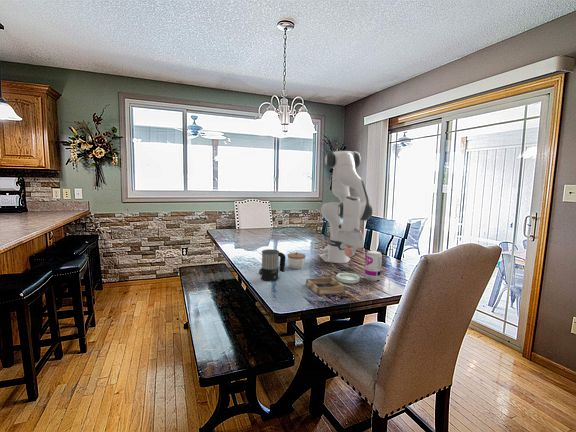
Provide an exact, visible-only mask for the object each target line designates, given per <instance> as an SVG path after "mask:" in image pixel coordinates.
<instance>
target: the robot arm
mask: <svg viewBox="0 0 576 432" xmlns="http://www.w3.org/2000/svg"><path fill="white" fill-rule="evenodd" d="M361 160H362V158H361V154H360V153H359V152H358V151H355V150H354V151H350V150H338V151H328V152H327V153H326V155H325V156H324V163H325V166H326V168H328V169H333V170H332V174H331V175H332V176H331V177H332V178H331V192H332V194H333V195H334V196H335V197H336V198H338V200H339V201H338V202H337V201H336V202H335V201H330V202H325V203H323V204H322V206H321V209H320V213H321V215H322V216H321V217H323V218H325V220H326V222H327V223H328V225H329V228H330V229H329V230H330V234H329V235H330V237H329V239H328V244H327V245H326V246H325V247H323V249H322V254H319V257H320V258H321V260H323V261H324V262H326V263H328V262H329V263H333V264H334V263H335V264H346V263H349V261H351V257H348V256H346V255H345V249H346V248H348V246H351V248H352V251H351V255H353V256H354V255H356V251H357V249H363V248H364V245H365V244H364V233H363V232H362V230H361V229H360V226H361V221H365V222H366V221H368V220H369V219H371V218H372V217H373V216H372V215H373V207H372V205H371V202H370V200H369V197H368V193H367V189H366V185H365V182H364V180H363V178H362V177H360V176H359V175H358V173H357V171H356V169H358V168H359V166H360V164H361ZM350 188H351V189H354V190H355V191H356V192H357V194H358V196H355V195H351V192H350ZM341 220H342V223H341Z"/></svg>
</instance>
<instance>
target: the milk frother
mask: <svg viewBox="0 0 576 432" xmlns="http://www.w3.org/2000/svg"><path fill="white" fill-rule="evenodd" d="M261 256H262V257H261V268H260V269H259V271H258V273H259V274H260V275H261V276H260V280H261V281H265V282H275V281H278V280H279V279H280V278H279V272H281V273H284V272H285V270H286V269H285V267H286V255H285V254H284V252H280V251H279V250H277V249H269V248H267V249H262V250H261Z"/></svg>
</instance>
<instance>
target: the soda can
mask: <svg viewBox="0 0 576 432" xmlns="http://www.w3.org/2000/svg"><path fill="white" fill-rule="evenodd" d="M382 259H383V255H382V252H381V251H378V250H367V252H366V254H365V264H364V266H365V267H364V279H365V280H367V281H369V280H371V281H370V282H378V281H377V280H379V281H380V280H381V273H382Z"/></svg>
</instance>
